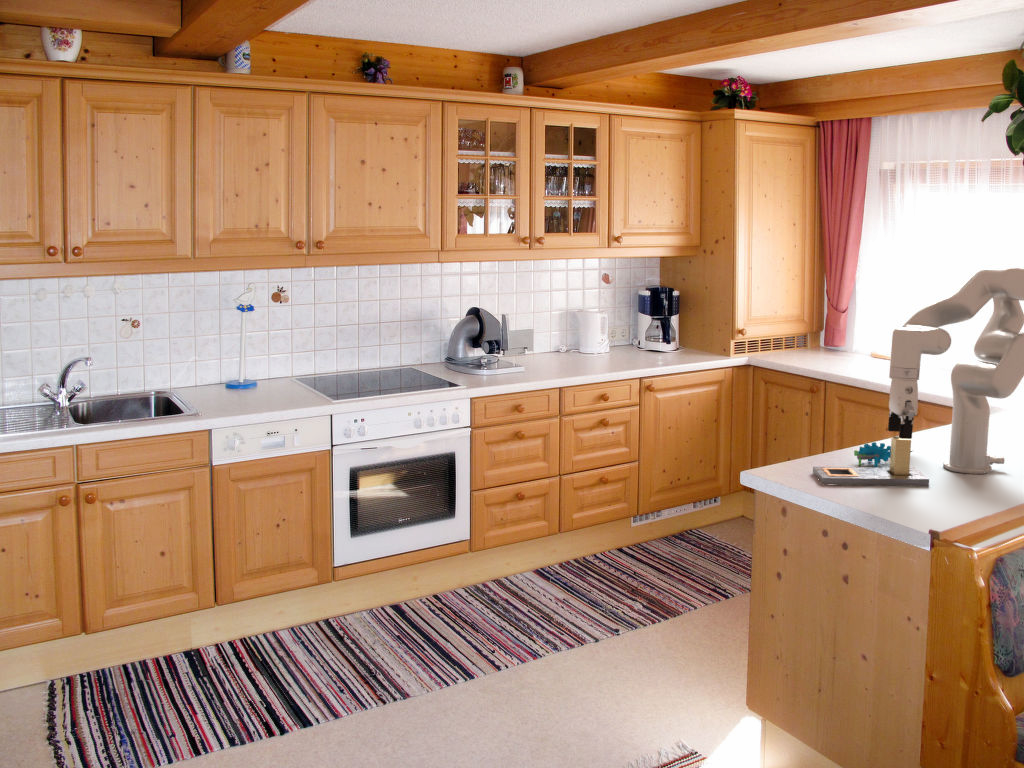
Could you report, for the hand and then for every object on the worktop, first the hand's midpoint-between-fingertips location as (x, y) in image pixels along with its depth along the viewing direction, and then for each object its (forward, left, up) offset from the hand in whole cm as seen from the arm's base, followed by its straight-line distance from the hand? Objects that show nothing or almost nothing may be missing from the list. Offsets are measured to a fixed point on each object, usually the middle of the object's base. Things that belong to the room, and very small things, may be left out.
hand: (899, 434), depth 254 cm
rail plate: (+7, 0, -13) cm, 15 cm away
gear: (+1, -17, -13) cm, 22 cm away
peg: (-1, 0, -13) cm, 13 cm away
